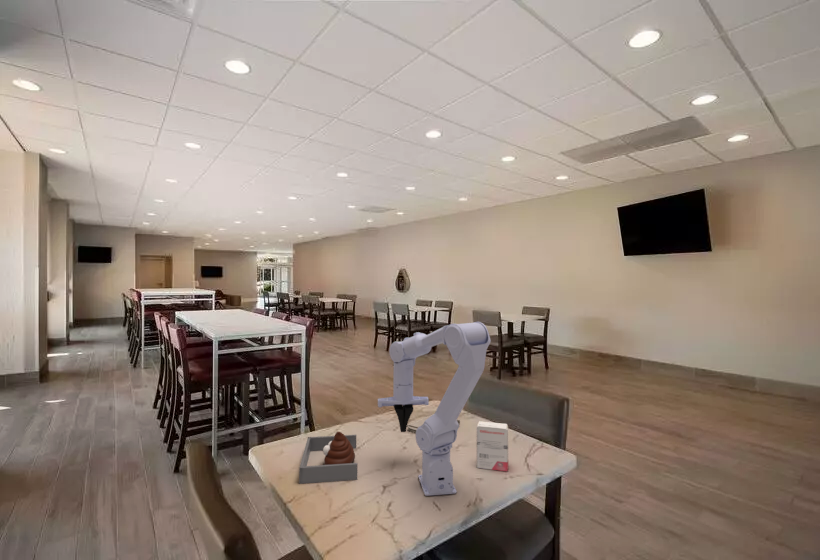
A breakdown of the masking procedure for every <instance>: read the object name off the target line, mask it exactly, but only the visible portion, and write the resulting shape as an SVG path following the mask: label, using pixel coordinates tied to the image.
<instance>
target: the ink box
mask: <svg viewBox="0 0 820 560" xmlns="http://www.w3.org/2000/svg"><path fill="white" fill-rule="evenodd" d="M476 468H477V469H483V470H493V471H499V472H500V471H501V472H509V426H508V423H499V422H491V421H482V420H478V422H477V424H476Z"/></svg>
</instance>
